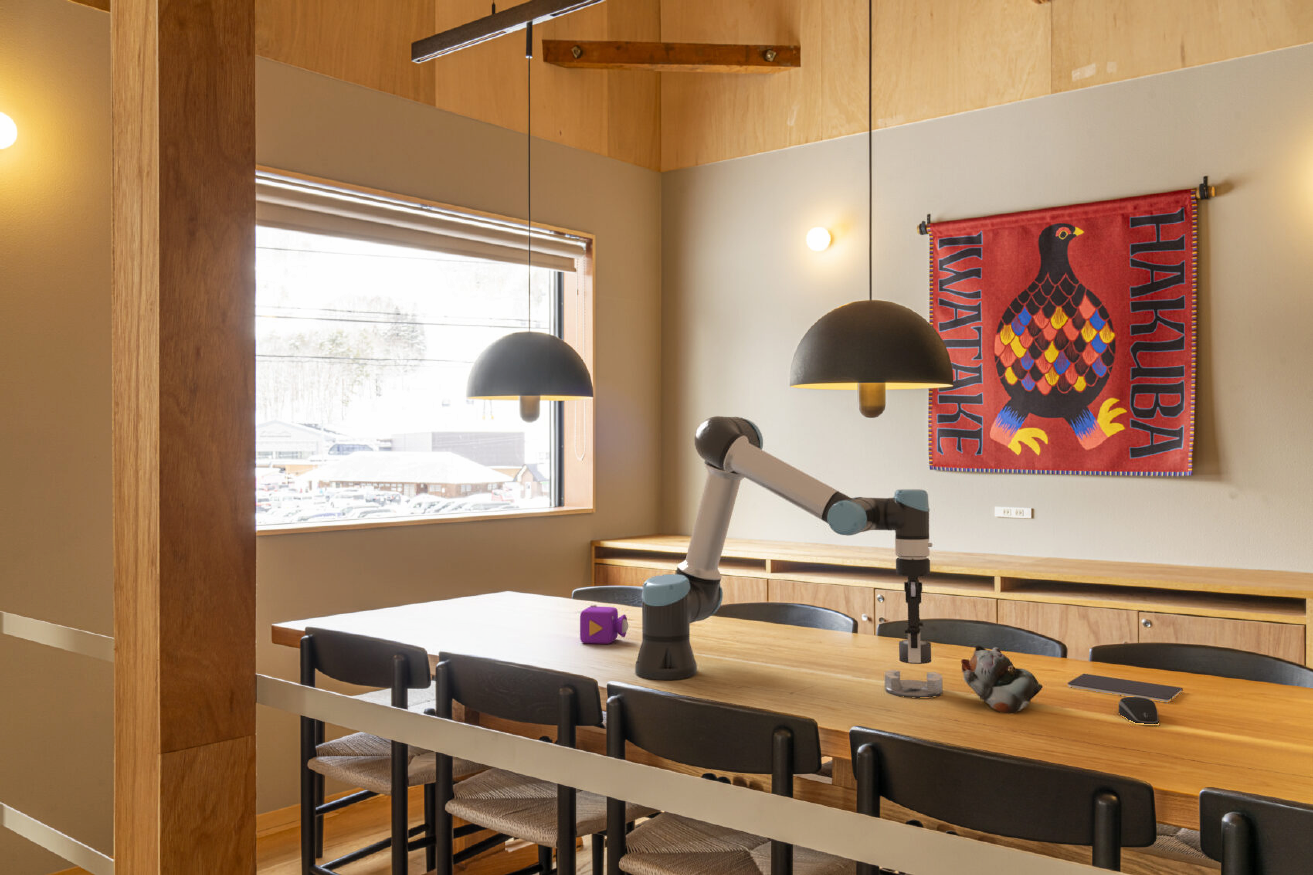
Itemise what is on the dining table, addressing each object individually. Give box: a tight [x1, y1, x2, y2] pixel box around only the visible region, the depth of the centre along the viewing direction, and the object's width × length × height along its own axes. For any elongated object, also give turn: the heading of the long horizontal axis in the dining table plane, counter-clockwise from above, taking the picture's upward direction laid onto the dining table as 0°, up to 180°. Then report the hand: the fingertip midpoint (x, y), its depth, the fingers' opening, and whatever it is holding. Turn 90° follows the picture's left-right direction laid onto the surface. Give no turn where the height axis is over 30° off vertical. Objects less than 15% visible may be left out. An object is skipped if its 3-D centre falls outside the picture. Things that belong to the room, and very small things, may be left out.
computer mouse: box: [1118, 697, 1160, 724], centre depth 193 cm, size 7×12×4 cm, turn 167°
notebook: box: [1067, 673, 1184, 702], centre depth 215 cm, size 13×2×21 cm
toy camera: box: [579, 604, 629, 645], centre depth 271 cm, size 11×14×10 cm
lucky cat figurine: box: [960, 645, 1043, 714], centre depth 203 cm, size 15×12×14 cm
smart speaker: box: [898, 639, 932, 665], centre depth 215 cm, size 7×7×4 cm
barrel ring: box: [884, 669, 943, 699], centre depth 215 cm, size 13×13×4 cm
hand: (914, 658), depth 215 cm, fingers closed on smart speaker, 7 cm apart
